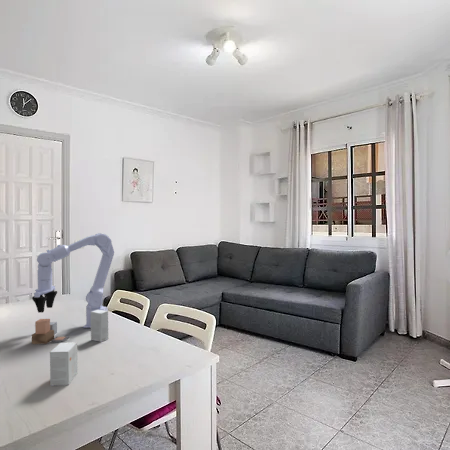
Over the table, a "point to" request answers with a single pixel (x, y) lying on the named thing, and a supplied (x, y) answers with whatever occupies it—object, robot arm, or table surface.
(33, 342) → the walnut block
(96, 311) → the skincare box
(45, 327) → the terracotta block
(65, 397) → the table surface
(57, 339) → the tile
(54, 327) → the slate block
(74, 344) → the small box
